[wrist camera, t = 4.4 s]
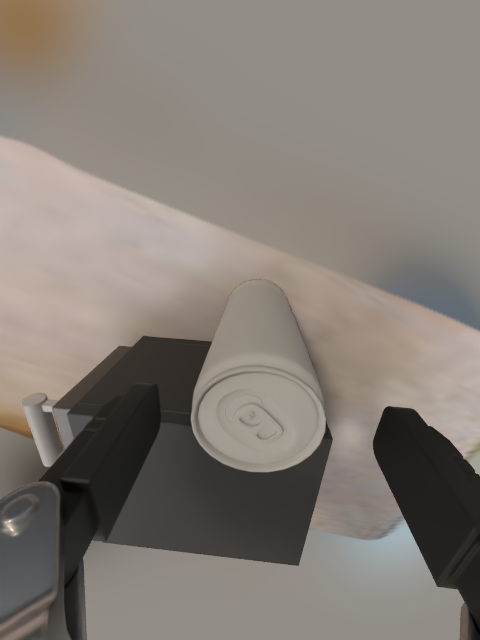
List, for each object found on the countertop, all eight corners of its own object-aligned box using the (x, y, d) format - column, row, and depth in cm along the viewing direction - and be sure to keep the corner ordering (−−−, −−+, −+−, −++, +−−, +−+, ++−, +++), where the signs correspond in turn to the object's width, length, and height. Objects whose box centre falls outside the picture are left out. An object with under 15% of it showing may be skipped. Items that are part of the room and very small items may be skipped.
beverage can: (261, 264, 18) (266, 334, 7) (301, 310, 19) (360, 435, 8) (215, 304, 19) (157, 416, 8) (254, 345, 21) (250, 492, 10)
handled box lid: (87, 432, 25) (23, 512, 18) (64, 340, 21) (-29, 399, 14) (258, 449, 24) (257, 540, 17) (268, 357, 20) (273, 428, 13)
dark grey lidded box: (153, 436, 25) (102, 542, 17) (142, 335, 21) (66, 413, 13) (285, 449, 25) (298, 566, 16) (302, 348, 20) (333, 439, 12)
